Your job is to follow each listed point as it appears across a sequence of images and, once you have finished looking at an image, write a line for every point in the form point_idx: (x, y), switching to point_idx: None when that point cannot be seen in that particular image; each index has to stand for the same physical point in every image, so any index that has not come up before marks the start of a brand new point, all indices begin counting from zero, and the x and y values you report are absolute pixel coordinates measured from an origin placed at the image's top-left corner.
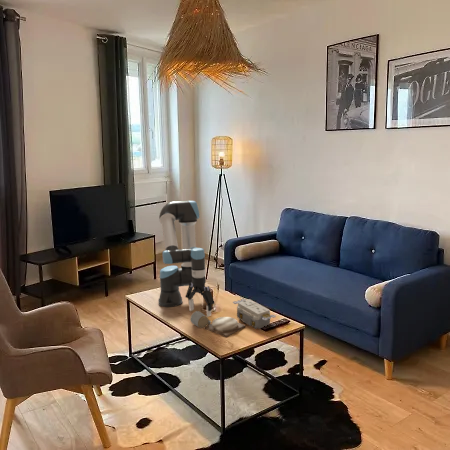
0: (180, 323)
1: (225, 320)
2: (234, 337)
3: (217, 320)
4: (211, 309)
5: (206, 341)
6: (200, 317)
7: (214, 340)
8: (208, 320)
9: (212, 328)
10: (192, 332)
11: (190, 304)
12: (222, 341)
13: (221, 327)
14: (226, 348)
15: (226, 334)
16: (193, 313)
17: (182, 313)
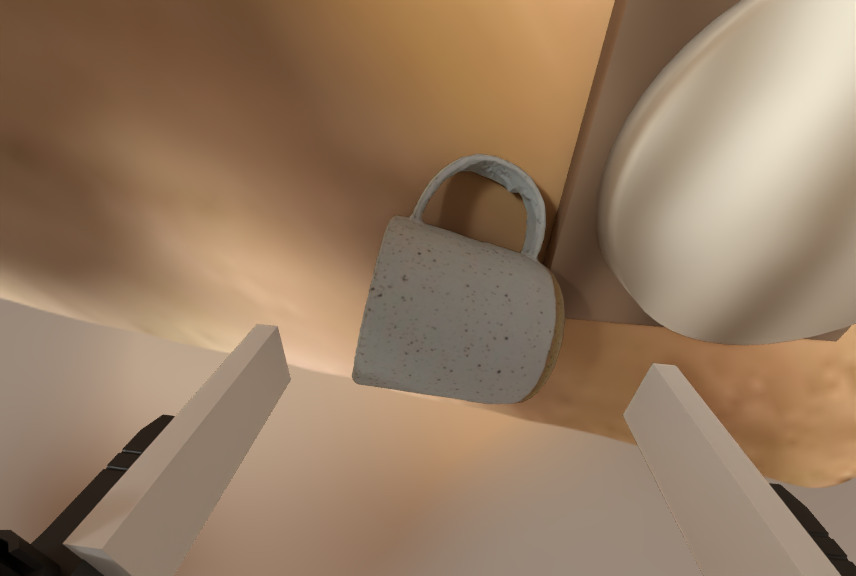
0: (277, 321)
1: (838, 141)
2: None
3: (687, 215)
4: (801, 511)
5: None
6: (513, 402)
7: (713, 400)
8: (477, 165)
9: (634, 302)
10: None
11: (227, 473)
12: (790, 389)
13: (802, 334)
14: (847, 440)
15: (838, 333)
16: (367, 384)
17: (38, 132)
